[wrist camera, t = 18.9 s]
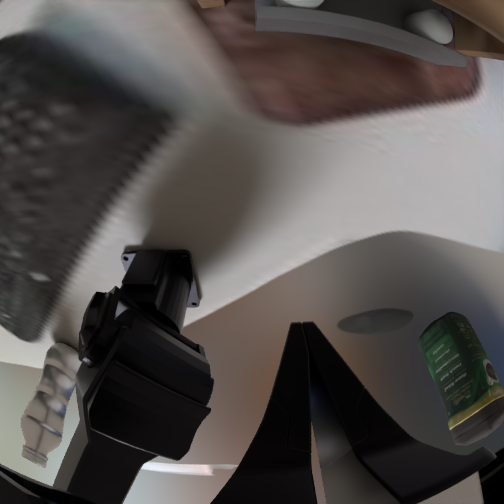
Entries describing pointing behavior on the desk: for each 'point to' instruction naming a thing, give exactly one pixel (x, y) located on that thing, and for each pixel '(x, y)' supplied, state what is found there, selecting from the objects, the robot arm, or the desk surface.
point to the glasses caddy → (367, 24)
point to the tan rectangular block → (462, 25)
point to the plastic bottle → (49, 403)
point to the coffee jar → (463, 378)
